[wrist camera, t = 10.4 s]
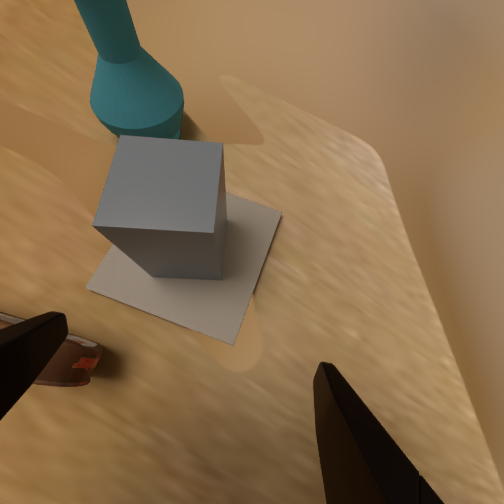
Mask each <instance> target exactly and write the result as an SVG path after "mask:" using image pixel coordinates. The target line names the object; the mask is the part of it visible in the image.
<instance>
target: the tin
mask: <svg viewBox="0 0 504 504" xmlns="http://www.w3.org/2000/svg"><path fill="white" fill-rule="evenodd" d="M25 320H26V319H23V318H19V317H16V316H12V315H9V314H5V313H2V312H0V329H2V328H5V327H8V326H11V325H13V324H16V323H19V322H22V321H25ZM102 352H103V346H102V345H100V344H99V343H96V342H93V341H91V340H88V339H85V338H82V337H79V336H76V335H72V334H69V333H68V336H67V338H66V339H65V341H64V342H63V344H62V345H61V346H60V348H59V349H58V350H57V352H56V353H55V354H54V356H53V357H52V359H51V360H50V361H49V363H48V364H47V365H46V367H45V368H44V369H43V371H42V372H41V373H40V375H39V376H38V377H37V379H36V380H35V381H34V382H33V384H37V385H47V386H58V387H78V386H84V385H87V384H88V383H89V382H90V377H91V375H92V373H93V371H94V369H95V367H96V365H97V363H98V361H99V359H100V357H101V355H102Z"/></svg>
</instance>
